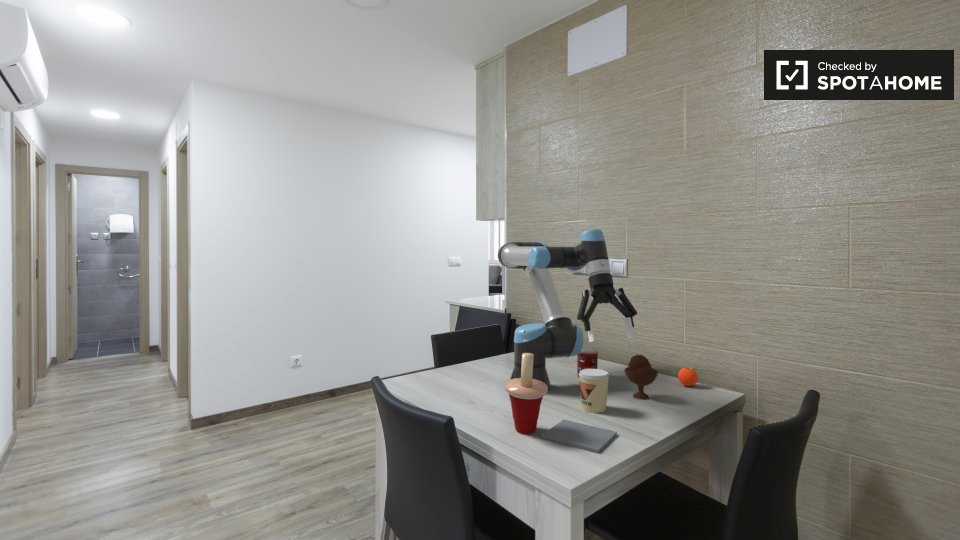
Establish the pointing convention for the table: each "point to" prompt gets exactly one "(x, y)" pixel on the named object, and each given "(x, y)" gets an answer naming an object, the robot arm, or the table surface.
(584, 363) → the canned food
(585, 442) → the mat
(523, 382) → the lid
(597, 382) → the coffee cup
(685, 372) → the clementine
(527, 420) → the plastic cup
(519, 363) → the robot arm
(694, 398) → the table surface
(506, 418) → the table surface
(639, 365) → the ice cream bowl
